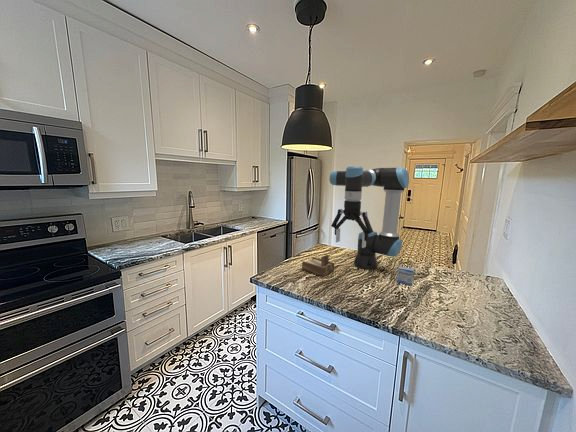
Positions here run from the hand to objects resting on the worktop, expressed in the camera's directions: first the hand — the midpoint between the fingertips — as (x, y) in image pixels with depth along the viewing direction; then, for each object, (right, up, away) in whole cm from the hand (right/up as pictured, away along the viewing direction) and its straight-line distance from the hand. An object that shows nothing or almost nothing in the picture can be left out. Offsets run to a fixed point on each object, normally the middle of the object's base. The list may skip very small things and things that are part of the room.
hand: (350, 244), depth 117 cm
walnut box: (-11, -21, +37) cm, 44 cm away
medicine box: (+37, -25, +22) cm, 49 cm away
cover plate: (-11, -17, +37) cm, 42 cm away
